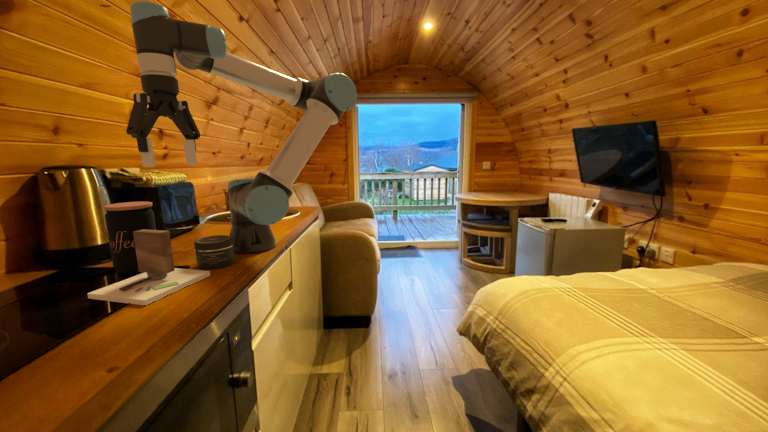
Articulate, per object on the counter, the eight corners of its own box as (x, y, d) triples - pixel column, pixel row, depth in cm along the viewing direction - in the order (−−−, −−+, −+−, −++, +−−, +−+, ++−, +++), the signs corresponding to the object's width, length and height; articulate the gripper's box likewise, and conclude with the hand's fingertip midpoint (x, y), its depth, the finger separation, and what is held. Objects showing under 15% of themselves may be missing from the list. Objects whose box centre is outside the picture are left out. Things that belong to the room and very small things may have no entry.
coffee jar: (104, 272, 90) (92, 206, 87) (142, 260, 100) (133, 200, 97) (133, 275, 87) (122, 207, 83) (169, 263, 97) (161, 202, 94)
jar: (237, 266, 93) (234, 240, 92) (196, 273, 88) (193, 245, 87) (233, 257, 102) (231, 233, 100) (196, 262, 97) (193, 237, 96)
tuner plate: (160, 270, 90) (160, 266, 90) (210, 275, 86) (209, 270, 86) (88, 298, 73) (87, 292, 73) (146, 305, 69) (145, 299, 69)
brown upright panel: (152, 272, 84) (145, 228, 82) (177, 275, 82) (171, 230, 80) (107, 289, 74) (98, 239, 72) (135, 292, 72) (127, 241, 70)
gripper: (184, 86, 93) (194, 163, 97) (93, 64, 68) (112, 168, 73) (208, 85, 91) (217, 163, 95) (124, 62, 67) (142, 167, 71)
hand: (172, 165), depth 84 cm, fingers open, 13 cm apart
